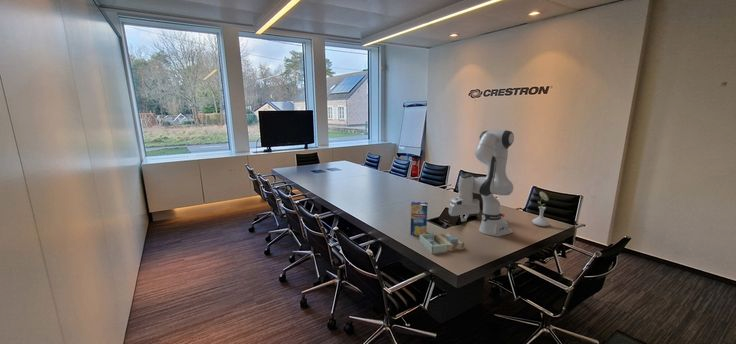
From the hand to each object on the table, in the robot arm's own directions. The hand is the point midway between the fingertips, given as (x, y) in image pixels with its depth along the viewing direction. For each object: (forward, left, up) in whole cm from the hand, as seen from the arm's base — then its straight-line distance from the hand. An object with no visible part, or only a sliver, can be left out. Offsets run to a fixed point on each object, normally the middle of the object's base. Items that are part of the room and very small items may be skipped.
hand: (463, 221), depth 190 cm
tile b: (+8, 0, -13) cm, 15 cm away
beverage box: (+19, -26, -17) cm, 36 cm away
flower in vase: (-76, -16, -17) cm, 80 cm away
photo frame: (-37, -42, -17) cm, 59 cm away
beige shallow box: (+8, -4, -17) cm, 19 cm away
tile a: (+20, -8, -14) cm, 25 cm away
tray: (+19, -4, -17) cm, 26 cm away
